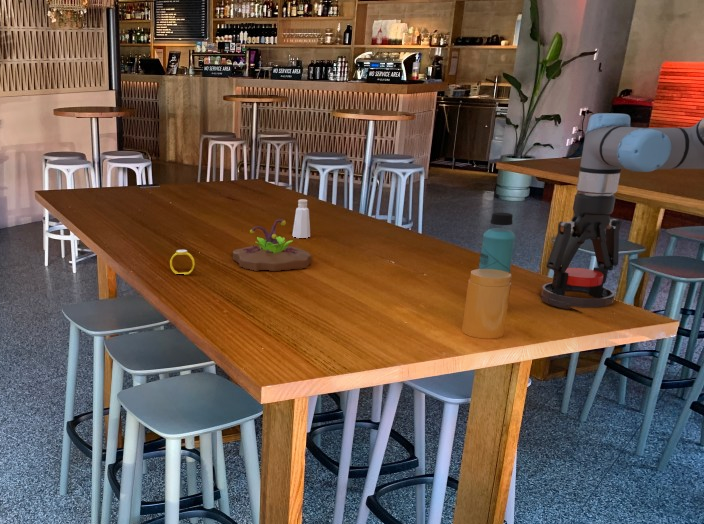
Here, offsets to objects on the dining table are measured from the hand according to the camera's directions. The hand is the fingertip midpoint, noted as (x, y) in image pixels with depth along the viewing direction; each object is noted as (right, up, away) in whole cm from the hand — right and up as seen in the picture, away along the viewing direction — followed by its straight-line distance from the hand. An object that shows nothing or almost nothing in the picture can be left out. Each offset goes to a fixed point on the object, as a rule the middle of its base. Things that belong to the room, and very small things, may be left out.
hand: (575, 300), depth 170 cm
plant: (-61, +13, +37) cm, 73 cm away
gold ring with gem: (-85, +9, +25) cm, 89 cm away
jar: (-27, -8, -18) cm, 33 cm away
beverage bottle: (-20, -2, -3) cm, 20 cm away
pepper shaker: (-50, +26, +68) cm, 88 cm away
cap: (0, +5, -2) cm, 6 cm away
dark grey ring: (0, -1, 0) cm, 1 cm away
